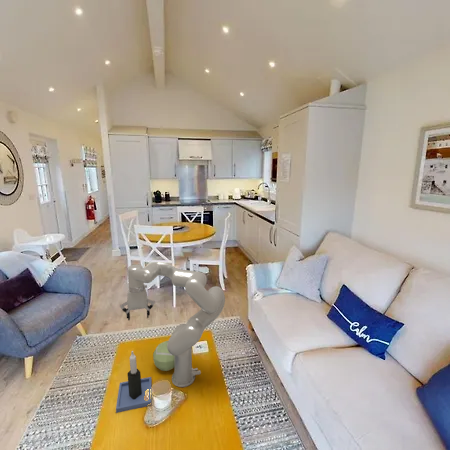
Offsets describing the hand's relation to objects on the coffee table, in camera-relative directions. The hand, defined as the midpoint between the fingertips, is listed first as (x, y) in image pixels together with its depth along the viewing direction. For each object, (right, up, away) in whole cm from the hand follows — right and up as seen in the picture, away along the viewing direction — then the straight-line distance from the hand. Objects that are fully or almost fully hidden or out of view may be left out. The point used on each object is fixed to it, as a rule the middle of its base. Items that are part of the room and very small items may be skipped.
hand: (138, 317), depth 141 cm
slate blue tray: (+1, -37, -8) cm, 38 cm away
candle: (+1, -36, -8) cm, 37 cm away
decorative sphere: (+13, -33, +12) cm, 37 cm away
